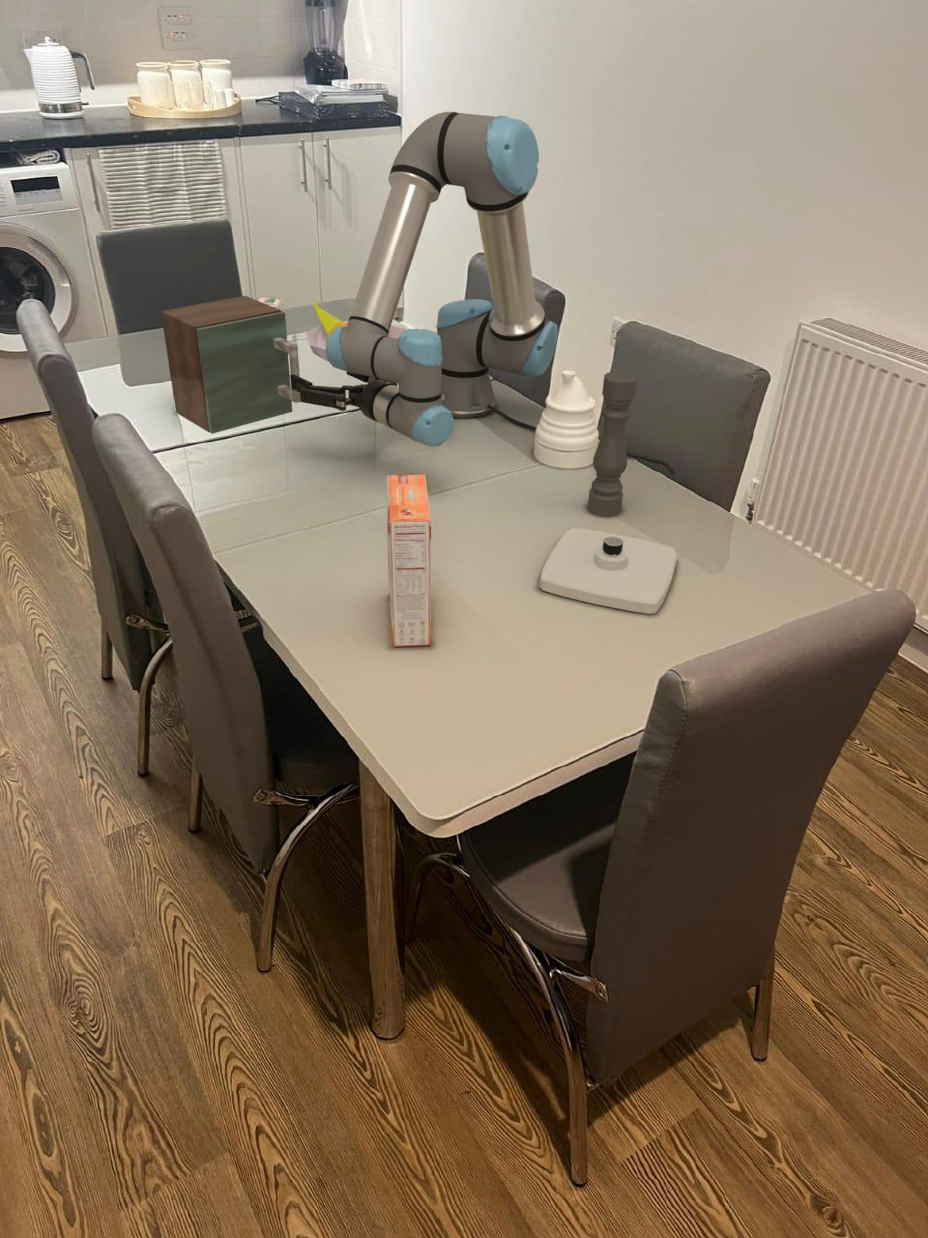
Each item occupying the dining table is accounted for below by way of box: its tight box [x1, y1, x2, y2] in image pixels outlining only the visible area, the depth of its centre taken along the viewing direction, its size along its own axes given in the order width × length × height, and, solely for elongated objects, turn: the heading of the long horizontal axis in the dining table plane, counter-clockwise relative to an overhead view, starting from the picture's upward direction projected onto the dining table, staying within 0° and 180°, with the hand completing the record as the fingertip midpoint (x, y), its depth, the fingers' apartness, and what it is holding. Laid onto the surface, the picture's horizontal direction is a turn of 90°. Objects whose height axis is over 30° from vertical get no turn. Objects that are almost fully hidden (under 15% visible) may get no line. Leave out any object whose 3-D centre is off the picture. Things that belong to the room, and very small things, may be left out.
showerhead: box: [539, 527, 678, 615], centre depth 151 cm, size 20×6×20 cm
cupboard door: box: [196, 311, 302, 435], centre depth 193 cm, size 8×20×22 cm, turn 132°
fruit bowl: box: [304, 302, 407, 362], centre depth 235 cm, size 28×27×11 cm
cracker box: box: [386, 474, 432, 648], centre depth 134 cm, size 14×6×21 cm, turn 5°
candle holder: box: [587, 370, 638, 518], centre depth 165 cm, size 6×6×25 cm
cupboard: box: [160, 295, 281, 433], centre depth 200 cm, size 14×20×22 cm
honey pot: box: [533, 369, 600, 470], centre depth 187 cm, size 13×13×18 cm
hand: (320, 373), depth 188 cm, fingers open, 13 cm apart
